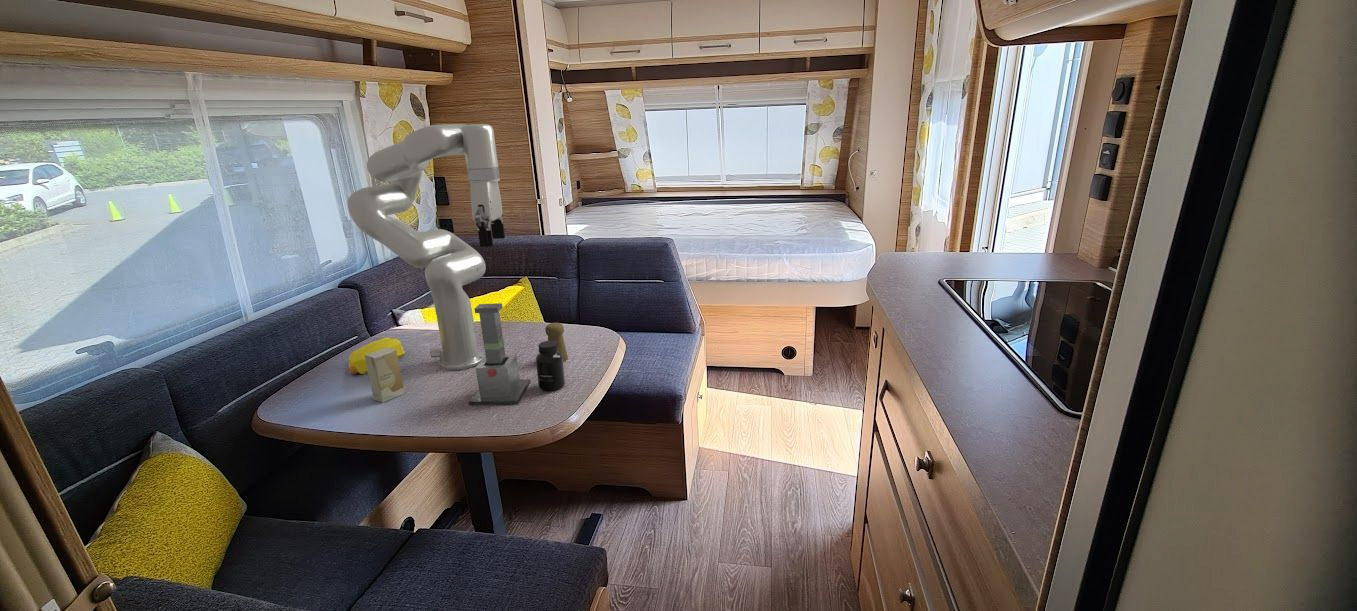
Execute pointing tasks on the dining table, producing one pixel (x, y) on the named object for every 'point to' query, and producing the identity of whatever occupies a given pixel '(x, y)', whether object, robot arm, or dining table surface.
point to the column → (492, 333)
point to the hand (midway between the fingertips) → (493, 242)
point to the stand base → (499, 383)
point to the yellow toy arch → (358, 356)
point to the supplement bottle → (550, 367)
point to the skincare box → (384, 374)
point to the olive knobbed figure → (557, 337)
